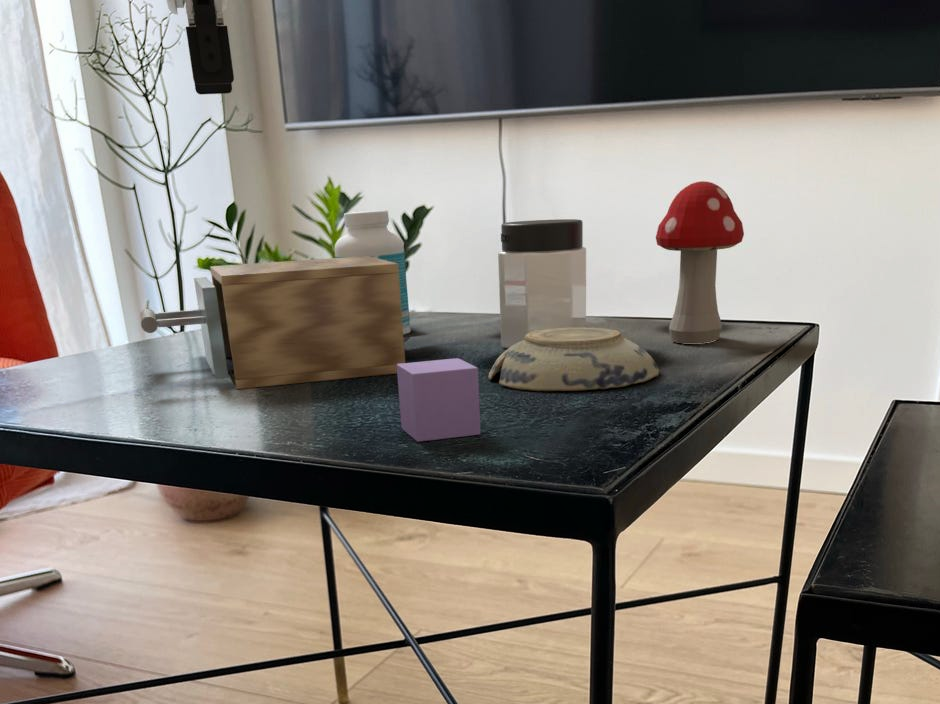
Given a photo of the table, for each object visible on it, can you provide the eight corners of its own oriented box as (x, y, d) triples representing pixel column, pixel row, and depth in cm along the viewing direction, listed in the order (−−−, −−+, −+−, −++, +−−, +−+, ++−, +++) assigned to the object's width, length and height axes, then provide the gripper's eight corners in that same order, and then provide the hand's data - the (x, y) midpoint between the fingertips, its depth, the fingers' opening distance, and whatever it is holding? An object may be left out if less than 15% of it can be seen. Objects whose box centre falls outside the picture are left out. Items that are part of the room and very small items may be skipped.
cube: (417, 442, 69) (412, 374, 68) (401, 428, 73) (396, 363, 72) (481, 434, 71) (478, 367, 69) (461, 421, 75) (458, 357, 73)
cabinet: (236, 389, 91) (220, 275, 87) (224, 368, 101) (210, 266, 98) (406, 372, 95) (398, 263, 91) (376, 353, 106) (368, 255, 102)
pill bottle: (401, 336, 117) (392, 209, 111) (418, 344, 110) (409, 209, 105) (337, 342, 115) (325, 212, 109) (351, 351, 108) (338, 213, 102)
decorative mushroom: (661, 332, 110) (665, 182, 104) (742, 333, 108) (751, 178, 102) (644, 347, 102) (648, 184, 96) (732, 348, 99) (742, 180, 93)
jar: (523, 338, 111) (520, 220, 106) (594, 340, 108) (594, 218, 103) (490, 351, 104) (485, 225, 99) (565, 353, 100) (564, 223, 96)
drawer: (151, 386, 89) (135, 292, 86) (148, 366, 99) (134, 282, 95) (374, 364, 94) (367, 275, 91) (350, 348, 104) (343, 267, 101)
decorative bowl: (695, 374, 88) (581, 354, 99) (697, 330, 86) (581, 315, 98) (562, 403, 80) (455, 377, 91) (562, 355, 79) (453, 335, 90)
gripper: (137, -129, 86) (172, 98, 93) (120, -198, 71) (164, 81, 78) (227, -129, 88) (255, 95, 95) (230, -196, 72) (263, 77, 79)
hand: (214, 88), depth 86 cm, fingers open, 9 cm apart
